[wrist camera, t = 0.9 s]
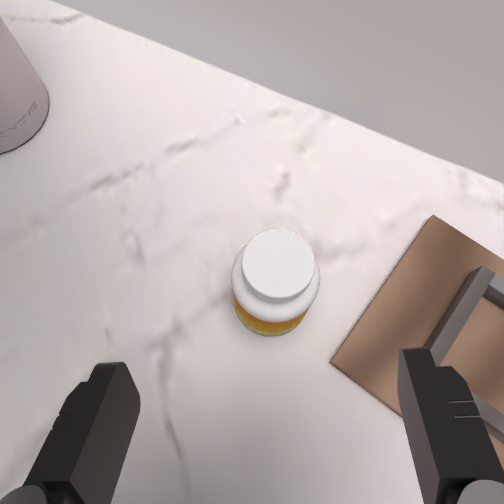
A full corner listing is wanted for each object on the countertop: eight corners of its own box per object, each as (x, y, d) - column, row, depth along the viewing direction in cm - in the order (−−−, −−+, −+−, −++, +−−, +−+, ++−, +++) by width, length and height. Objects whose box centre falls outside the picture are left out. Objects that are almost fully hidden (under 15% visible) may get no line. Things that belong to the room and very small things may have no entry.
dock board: (329, 362, 31) (337, 358, 28) (428, 219, 35) (443, 203, 32) (564, 540, 28) (600, 556, 25) (646, 360, 31) (685, 356, 28)
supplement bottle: (311, 333, 32) (336, 306, 23) (237, 341, 32) (233, 316, 22) (301, 263, 34) (321, 211, 24) (231, 270, 33) (224, 220, 24)
